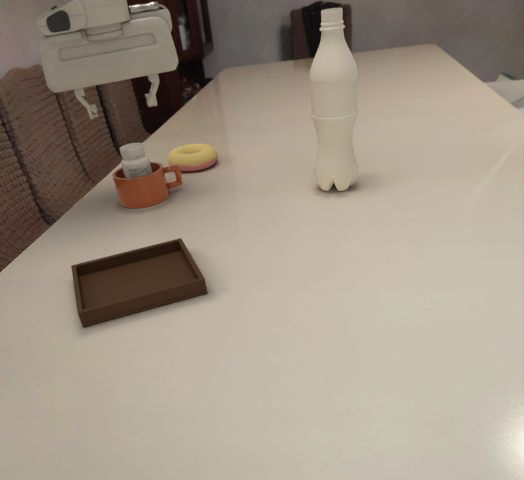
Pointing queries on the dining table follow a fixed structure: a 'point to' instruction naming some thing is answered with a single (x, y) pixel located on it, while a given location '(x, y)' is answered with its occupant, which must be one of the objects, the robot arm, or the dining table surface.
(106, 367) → the dining table surface
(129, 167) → the pill bottle
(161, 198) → the mug
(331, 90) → the water bottle
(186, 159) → the donut
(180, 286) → the tray
